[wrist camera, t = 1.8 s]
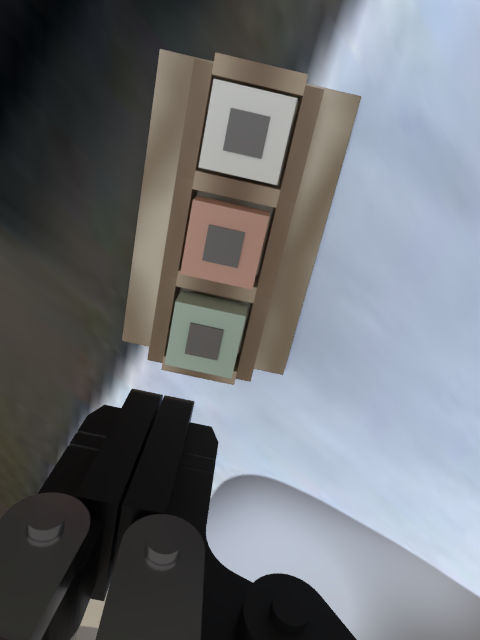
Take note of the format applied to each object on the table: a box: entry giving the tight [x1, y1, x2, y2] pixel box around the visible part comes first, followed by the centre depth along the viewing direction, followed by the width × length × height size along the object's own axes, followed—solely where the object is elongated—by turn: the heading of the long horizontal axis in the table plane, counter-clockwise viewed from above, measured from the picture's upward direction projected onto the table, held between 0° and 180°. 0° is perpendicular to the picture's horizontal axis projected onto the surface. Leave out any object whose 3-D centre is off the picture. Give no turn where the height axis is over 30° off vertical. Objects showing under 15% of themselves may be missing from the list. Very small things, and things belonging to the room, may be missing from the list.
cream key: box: [199, 79, 297, 185], centre depth 29 cm, size 5×5×3 cm
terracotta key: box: [180, 196, 269, 290], centre depth 31 cm, size 5×5×3 cm
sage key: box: [165, 290, 247, 378], centre depth 34 cm, size 5×5×3 cm
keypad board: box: [122, 49, 361, 385], centre depth 34 cm, size 14×22×4 cm, turn 168°
